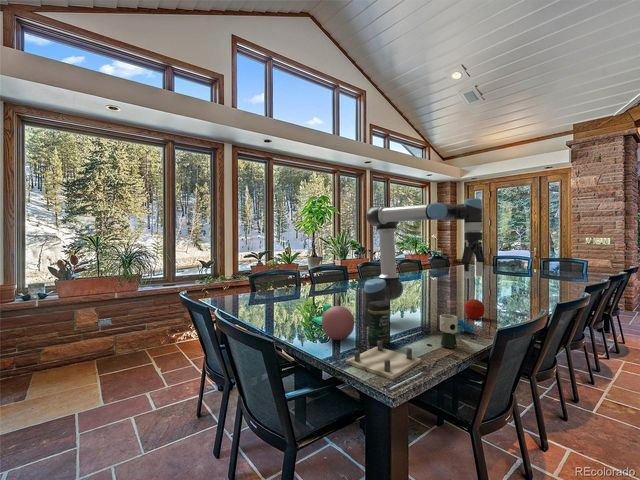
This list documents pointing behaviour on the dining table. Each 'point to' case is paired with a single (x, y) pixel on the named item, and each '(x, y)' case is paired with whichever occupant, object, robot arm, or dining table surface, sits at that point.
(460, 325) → the blue irregular piece
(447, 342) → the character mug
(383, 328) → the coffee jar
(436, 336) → the dining table surface
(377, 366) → the locator plate
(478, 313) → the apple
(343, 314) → the pink ovoid
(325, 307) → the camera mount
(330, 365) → the dining table surface
